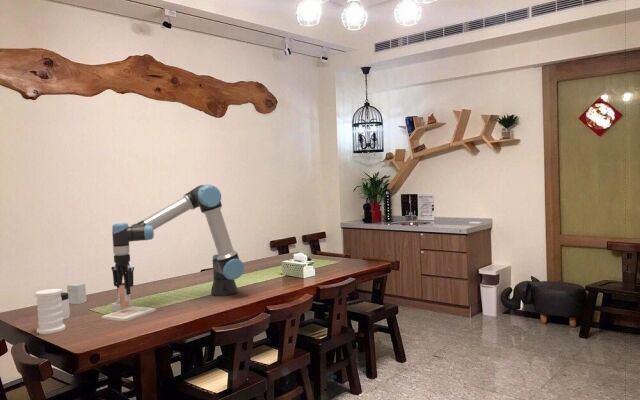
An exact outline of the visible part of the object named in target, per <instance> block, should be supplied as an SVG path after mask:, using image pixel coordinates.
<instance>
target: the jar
mask: <svg viewBox="0 0 640 400" xmlns="http://www.w3.org/2000/svg"><path fill="white" fill-rule="evenodd" d="M61 297H62V300H61V303H62V311H63V313H62V317H63V320H66V319H69V318H70V316H71V312H70V310H71V309H70V304H69V296H68V293H67V292H62V293H61Z"/></svg>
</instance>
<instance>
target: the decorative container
mask: <svg viewBox="0 0 640 400" xmlns="http://www.w3.org/2000/svg"><path fill="white" fill-rule="evenodd" d="M61 293H63V288H47V289H42V290H38V291H36V292H35V293H34V295H35V297H36V304H37V306H36V310H37V319H38V321H37V324H38V327H37V328H36V334H38V333H39V335H47V334H48V335H49V334H54V333H59V332H62V331H64V330H65V329H66V325H65V324H64V323H63V322H64V319H63V317H62V313H63V311H62V303H61V300H62V297H61Z"/></svg>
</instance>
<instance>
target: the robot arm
mask: <svg viewBox="0 0 640 400" xmlns="http://www.w3.org/2000/svg"><path fill="white" fill-rule="evenodd" d="M221 200H222V193H221V191H220V189H219V188H218V187H217V186H215V185H212V184H200V185H198V186H196V187H194V188H193V189H191V190H190V191H188V192H186V193H185V194H183V195H182V198H180V199H178V200H176V201H174V202H173V203H171V204H169V205H167V206H166V207H164V208H162V209H160V210H158V211H156V212H155V213H153V214H151V215H150V216H147V217H145V218H144V219H143V220H140V221H139V222H136V223H134V224H131V225H130V226H129V224H128V222H121V223H119V222H117V223H114V224H112V226H111V227H112V233H111V235H112V247H113V249H112V251H113V262H114V263H115V265H114V266H111V268H110V269H111V271H112V280H113V286H114V287H116V288H117V294H118V299H119V301H120V288H119V285H122V283H125V288H124V294H125V301H131V287H134V270H135V267H134V266H131V265H130V261H131V255H130V242H140V241H149V240H153V239H154V236H155V232H154V230H156V229H158V228H160V227H161V226H163V225H164V224H167V223H168V222H170V221H172V220H174V219H176V218H177V217H179V216H181V215H182V214H184V213H186V212H188V211H190V210H192V211H193V210H195V209H197V208H199V209H200V213H202V214H204V215H205V218H206V221H207V224H208V227H209V231H210V233H211V236H212V240H213V243H214V246H215V249H216V251H217V254H213V255H212V260H211V262H212V272H213V274H212V275H213V276H212V277H213V282H212V285H211V289H210V294H211V295H212V296H217V297H220V296H221V297H224V296H225V297H226V296H231V294H232V295H235V294H237V293H238V292H239V291H238V287H237V284H236V280H237V279H239V278H241V277H242V275H243V274H244V272H245V271H244V270H245V265H244V262H243V261H242V260H241V259H240V257H239V254H238V251H236V250H234V247H233V244H232V241H231V238H230V234H229V232H228V229H227V225H226V222H225V220H224V217H223V213H222V210H221V209H222V207H223V204H222V201H221Z"/></svg>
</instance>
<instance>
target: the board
mask: <svg viewBox="0 0 640 400" xmlns="http://www.w3.org/2000/svg"><path fill="white" fill-rule="evenodd" d="M156 311H157V308H155V307H146V306H145V307H144V306H137V305H135V306H134V305H132V307H129V308H126V309H123V310H120V311H113V312H111V313H108V314H105V315H102V316H101V319H103V320H110V321H118V322H119V321H120V322H128V321H131V320H134V319H136V318H139V317H142V316H145V315H149V314H150V313H151V314H152V313H154V312H156Z"/></svg>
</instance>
